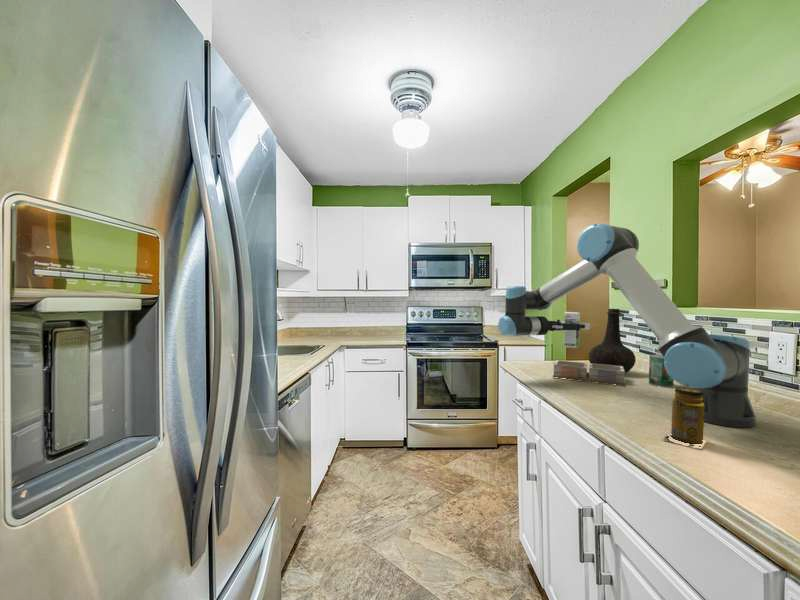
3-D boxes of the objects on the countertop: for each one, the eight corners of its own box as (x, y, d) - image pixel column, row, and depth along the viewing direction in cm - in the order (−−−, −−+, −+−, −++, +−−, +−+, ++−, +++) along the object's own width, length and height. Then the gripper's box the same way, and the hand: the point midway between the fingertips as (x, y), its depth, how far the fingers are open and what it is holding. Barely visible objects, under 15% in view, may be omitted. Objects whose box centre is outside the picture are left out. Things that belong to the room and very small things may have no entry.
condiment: (708, 440, 90) (709, 390, 90) (701, 450, 84) (703, 396, 84) (670, 432, 95) (672, 384, 95) (662, 441, 89) (664, 389, 89)
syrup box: (563, 347, 158) (564, 312, 157) (564, 345, 163) (565, 311, 162) (578, 348, 155) (579, 312, 155) (579, 346, 160) (580, 312, 160)
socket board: (624, 386, 143) (625, 372, 143) (552, 378, 154) (553, 365, 154) (622, 378, 156) (622, 366, 156) (555, 371, 167) (556, 360, 167)
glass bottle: (583, 372, 166) (585, 308, 166) (594, 367, 180) (595, 307, 179) (630, 379, 155) (633, 310, 154) (638, 372, 169) (640, 309, 168)
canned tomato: (674, 388, 141) (675, 358, 140) (648, 385, 145) (649, 356, 144) (672, 384, 147) (673, 355, 147) (648, 381, 151) (649, 353, 151)
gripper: (519, 332, 163) (563, 331, 170) (553, 338, 143) (601, 337, 150) (519, 314, 163) (563, 314, 170) (553, 318, 143) (601, 318, 150)
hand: (581, 325), depth 160 cm, fingers closed on syrup box, 8 cm apart
